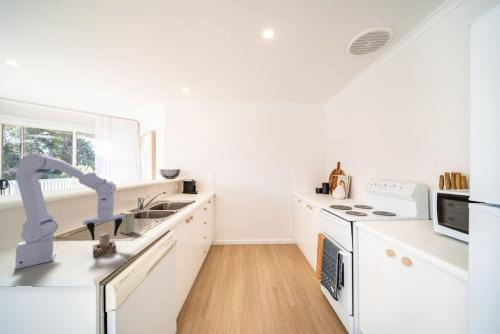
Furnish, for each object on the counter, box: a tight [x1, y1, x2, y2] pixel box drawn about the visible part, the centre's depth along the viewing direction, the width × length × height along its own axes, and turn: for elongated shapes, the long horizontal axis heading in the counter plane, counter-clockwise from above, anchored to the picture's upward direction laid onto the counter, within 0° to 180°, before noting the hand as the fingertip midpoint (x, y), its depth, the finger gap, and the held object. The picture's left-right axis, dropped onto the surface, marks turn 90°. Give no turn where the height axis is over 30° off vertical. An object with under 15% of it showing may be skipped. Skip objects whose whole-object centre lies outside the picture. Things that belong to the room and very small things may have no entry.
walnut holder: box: [92, 240, 117, 258], centre depth 79 cm, size 8×8×3 cm
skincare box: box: [119, 210, 135, 235], centre depth 105 cm, size 6×4×12 cm
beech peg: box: [98, 232, 111, 248], centre depth 79 cm, size 4×4×8 cm
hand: (104, 237), depth 79 cm, fingers open, 7 cm apart
